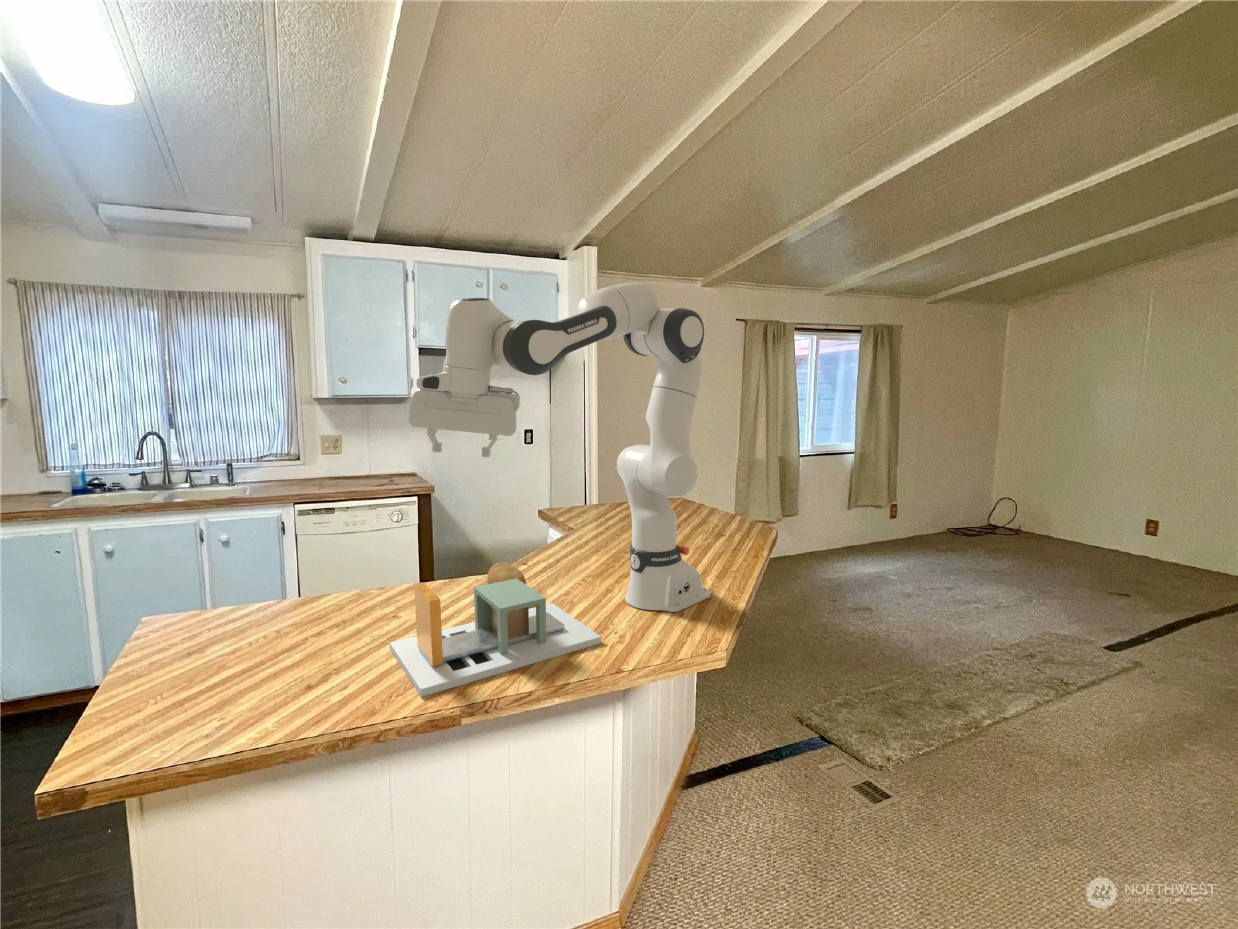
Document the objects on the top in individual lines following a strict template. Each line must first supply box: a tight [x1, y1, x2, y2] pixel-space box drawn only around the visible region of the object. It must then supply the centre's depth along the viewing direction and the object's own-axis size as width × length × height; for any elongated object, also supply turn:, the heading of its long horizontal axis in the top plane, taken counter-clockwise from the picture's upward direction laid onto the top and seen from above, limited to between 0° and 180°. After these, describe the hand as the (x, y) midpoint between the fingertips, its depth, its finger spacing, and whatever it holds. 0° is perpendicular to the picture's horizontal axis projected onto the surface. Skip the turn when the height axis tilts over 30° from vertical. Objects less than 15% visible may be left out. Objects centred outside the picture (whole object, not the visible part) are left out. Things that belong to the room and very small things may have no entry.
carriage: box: [413, 582, 565, 667], centre depth 123 cm, size 29×10×13 cm, turn 124°
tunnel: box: [473, 578, 547, 655], centre depth 125 cm, size 10×14×10 cm
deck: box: [389, 603, 602, 698], centre depth 125 cm, size 38×22×2 cm, turn 124°
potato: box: [486, 562, 527, 585], centre depth 151 cm, size 10×14×8 cm
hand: (461, 454), depth 116 cm, fingers open, 8 cm apart
